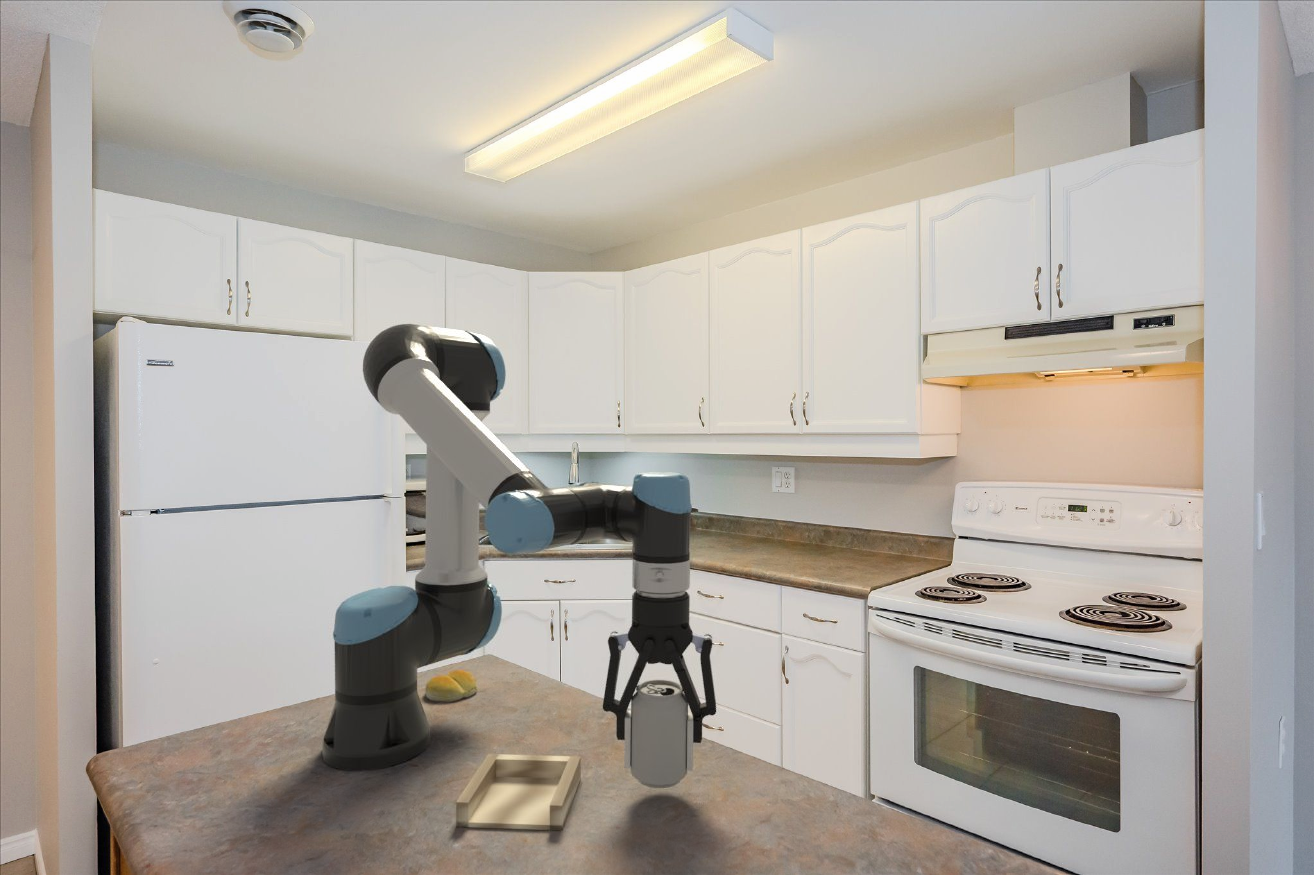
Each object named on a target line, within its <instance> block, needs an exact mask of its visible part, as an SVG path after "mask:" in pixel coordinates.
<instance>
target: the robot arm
mask: <svg viewBox="0 0 1314 875" xmlns="http://www.w3.org/2000/svg"><path fill="white" fill-rule="evenodd" d="M362 360H363V361H362V362H363V363H362V373H363V379H364V382H365V384H366V387H367V389H368V390H369V393H370V394H371V396H372V397H373V398H374V399H375V401H376V402H377V403H378V404H379V405H380V406H381V407H382V408H383V410H385V411H386V412H388V413H389V414H393V415H398V416H400V417H401V418H402V419H403V421H404V422H405V423H406V424H407V425H408V426H409V427H410V428H411V429H412V430H413V431H414V432H415V434H416V435H417V436H418V437H419V438H420V439H421V440H422V442H424V443H425V444H426V462H425V463H426V469H425V470H426V472H425V476H426V480H425V538H424V539H425V542H424V543H425V546H424V547H425V548H424V550H425V551H424V553H425V554H424V555H425V557H424V559H425V560H424V567H423V568H422V569H420V571H419V572H418V573H417V574H416V575H415V577H414V578H415V580H414V588H413V587H411V586H406V585H389V586H386V587H376V588H372V589H368V590H365V591H361V592H359V593H356V594H354V595H351V596H350V597H348V598H346V599H345V600H344V601H342V602H340V605H339V606H338V607H337V609H336V612H335V615H334V616H335V617H334V627H333V632H332V637H333V641H334V689H335V690H334V695H335V697H334V705H333V707H332V711H331V713H330V714H331V715H330V718H329V719H328V723H327V726H326V730H325V732H324V735H323V739H322V743H321V744H322V749H321V751H322V755H321V756H322V760H323V761H324V763H325V764H326V765H328V766H330V767H331V768H336V769H339V770H344V771H345V770H346V771H366V770H367V771H368V770H377V769H382V768H386V767H391V766H395V765H398V764H401V763H404V762H406V761H408V760H410V759H412V758H414V757H416V756H417V755H420V754H421V753H422V752H424V751H425V749H426V748H427V747H428V746H429V744H430V739H431V738H430V737H431V736H430V724H429V721H428V718H427V714H426V712H425V709H424V707H423V704H422V701H421V699H420V696H419V693H418V669H419V668H422V667H425V666H426V667H427V666H429V665H433V664H435V663H438V662H442V661H446V660H448V659H452V658H456V657H458V656H463V655H465V656H466V655H469V654H471V653H472V652H474V651H476V650H478V649H481V648H483V647H485V646H487V645H488V644H489V643H490V642H491V641H492V640H493V639H494V638H495V636H496V634H497V632H498V631H499V628H500V625H501V621H502V615H503V614H502V613H503V608H502V600H501V596H499V595H498V590H497V588H496V587H495V585H494V584H493V583H492V582H490V581H489V580H488V572H487V571H486V570H485V569H484V568H483V567H482V566H481V565H480V564H479V560H480V559H479V557H480V556H479V555H480V552H479V551H480V550H479V549H480V546H479V544H480V505H481V506H482V507H483V508H484V509H485V514H484V529H485V531H486V532H487V534H488V536H489V537H488V540H489V541H490V543H491V545H492V547H494V548H495V549H496V550H497V551H499V552H500V553H503V554H506V555H520V554H521V555H522V554H535V553H539V552H541V551H545V550H549V549H555V548H558V547H563V546H569V545H570V546H573V545H577V544H582V543H583V544H584V543H587V542H591V541H592V542H593V541H597V540H611V541H622V542H627V543H632V572H631V573H632V574H631V575H632V576H631V577H632V579H631V582H632V585H631V587H632V588H633V589H634V592H633V594H632V595H631V626H630V628H629V629H628V631H624V632H618V631H615V630H614V631H612V632H610V635H609V637H608V639H607V644H608V649H609V655H610V656H609V663H608V668H607V675H606V681H605V682H606V683H605V687H604V695H603V702H602V710H603V711H604V712H606V713H608V712H611V713H613V714H614V715H615V717H616V731H615V732H616V739H617V740H618V741H624V764H623V766H624V769H631V709H628V708H629V706H630V705H631V699H632V697H633V695H634V694H635V693H636V687H637V686H638V685H639V683H640V679H641V677H642V675H643V672H644V670H645V668H646V666H647V664H648V665H655V664H659V663H660V664H664V665H672V667H673V670H674V671H675V674H676V676H677V678H678V681H679V684H681V686H682V689H683V693H684V694H685V697H686V699H687V702H688V708H689V709H690V711H688V720H687V772H693V771H694V744H701V742H702V740H703V719H704V718H705V717H708V716H714V715H716V713H717V702H716V701H717V700H716V692H715V685H714V678H713V671H712V661H711V653H712V649H713V636H712V635H711V634H709V633H706V634H704V635H702V634H698V633H693V630H692V628H691V626H690V606H691V604H690V601H691V600H690V598H691V597H690V596H691V595H690V594H689V592H687V591H688V590H689V588H690V587H691V558H690V554H691V551H690V542H691V538H690V537H691V535H690V534H691V517H692V516H691V512H692V510H693V507H692V503H691V502H692V501H691V483H690V480H689V478H688V477H687V476H686V475H685V474H683V473H679V472H670V471H669V472H661V471H652V472H651V471H649V472H645V471H644V472H640V473H639V472H638V473H636V474H635V475H634V477H633V482H632V483H633V484H632V485H620V484H619V485H617V484H609V483H608V484H607V483H599V482H597V481H590V482H588V481H587V482H586V481H585V482H574V483H572V484H570V485H569V486H565V487H554V488H553V487H551V488H550V487H548V486H546V485H545V483H544V482H543V481H542V480H541V479H539V478H538V477H537V476H536V474H534V473H533V472H532V471H531V470H530V469H529V468H528V467H527V466H526V465H525V464H524V463H523V462H522V461H521V460H520V459H519V458H518V457H517V456H516V455H515V454H514V452H512V450H510V448H508V447H507V446H506V444H504V443H503V442H502V440H500V439H499V438H498V437H497V436H496V434H494V432H493V431H492V430H490V429H489V427H487V425H485V424H484V423H483V421H484V419H485V418H487V417H488V416H489V414H491V402H493V401H495V400H496V399H497V398H498V397H499V396H500V395H501V390H503V389H504V387H505V383H506V382H505V381H506V375H507V374H506V365H505V361H504V358H503V355H502V353H501V351H500V349H499V348H498V346H497V345H496V344H495V343H494V342H493V340H491V339H490V338H489V337H487V336H485V335H483V334H479V333H475V332H471V331H468V330H461V329H460V330H459V329H451V328H443V327H436V326H435V327H434V326H426V325H420V324H414V323H402V324H396V325H393V326H390V327H388V328H386V329H384V330H382V331H381V332H379V333H378V334H377V335H376V336H375V337H374V338H373V339H372V340H371V341H370V343H369V345H368V346H367V348H366V350H365V353H364V356H363V359H362ZM628 642H630V644H631V645H632V647H633V648H634V649H635V651H636V652H637V653H638V656H637V658H636V661H635V664H634V666H633V668H632V671H631V674H630V676H629V678H628V680H627V682H626V686H625V688H624V690H623V692H622V695H621V697H620V699H616V698H615V696H616V690H617V683H618V677H619V670H620V664H621V656H622V651H624V650H625V648H626V645H627V643H628ZM691 643H692V644H693V645H694V647H695V651H696V652H697V653H699V654H700V656H699V657H700V669H701V675H702V684H703V691H704V698H705V699H704V700H705V702H703V703H701V700H700V697H699V695H698V693H697V690H696V687H695V685H694V683H693V680H692V677H691V675H690V672H689V669H688V666H687V663H686V661H685V657H684V655H683V654H684V652H686V650H687V648H688V647H690V645H691Z"/></svg>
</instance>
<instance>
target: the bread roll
mask: <svg viewBox="0 0 1314 875" xmlns="http://www.w3.org/2000/svg"><path fill="white" fill-rule="evenodd" d="M425 685H426V686H425V690H424V691H425V692H424V693H425V694H424V695H425V696H426V697H427V699H429V700H430V701H433V702H441V703H443V702H444V703H445V702H447V703H449V702H456V701H460V700H462V699H463V698H465V699H466V698H469V697H471V696H473V695H474V694H475V693H477V691H478V684H477V681H476V679H475V676H474V675H472V673H470V672H468V670H467V671H466V670H463V669H455V670H452V671H450V672H449V673H447V674H446V675H444V674H441V675H440V674H439V675H436V676H433V677H431V679H429V681H428V682H426V684H425Z"/></svg>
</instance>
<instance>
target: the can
mask: <svg viewBox="0 0 1314 875" xmlns="http://www.w3.org/2000/svg"><path fill="white" fill-rule="evenodd" d="M630 706H631V707H630V710H631V767H630V774H631V775H632V777H634V779H636V780H637V781H638V783H640V784H641V785H642V786H645V787H648V788H652V789H666V788H671V787H674V786H676V785H678V784H679V783H680V781H682V780H683V779H685V777H687V775H688V771H687V720H688V712H689V705H688V702H687V699H686V697H685V694H684V692H683V689H682V686H681V684H680V682H679V683H678V682H677V681H674V680H673V681H672V680H668V679H649V680H645V681H642V682H639V683H638V685H637V687H636V689H635V692H634V694H633V697H632V699H631V701H630Z"/></svg>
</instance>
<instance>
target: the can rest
mask: <svg viewBox="0 0 1314 875" xmlns="http://www.w3.org/2000/svg"><path fill="white" fill-rule="evenodd" d="M581 765H582V757H581V756H571V755H543V754H542V755H541V754H539V755H538V754H537V755H536V754H533V755H532V754H501V753H499V754H498V753H496V754H495V753H488V754H487V755H486V757H485V759H484V760H483V762H482V763H481V765H480V766H479V767H478V769H477V771H476V772H475V773H474V775H473V776H472V777H471V779H470V781H469V782H468V784H467V785H466V787H465V788H464V790H463V791H462V793H461V794H460V796H459V797H458V799H457V800H456V801H455V808H456V809H455V815H456V817H455V820H456V821H455V824H456V826H455V827H456V828H479V829H481V828H483V829H484V828H485V829H504V830H505V829H506V830H507V829H508V830H509V829H511V830H533V831H534V830H539V831H563V828H564V826H565V825H566V824H565V823H566V820H567V818H568V815H569V812H570V809H571V806H572V804H573V801H574V798H575V796H576V792H577V790H578V787H579V784H580V782H581V778H582V777H581V776H582V766H581Z"/></svg>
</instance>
